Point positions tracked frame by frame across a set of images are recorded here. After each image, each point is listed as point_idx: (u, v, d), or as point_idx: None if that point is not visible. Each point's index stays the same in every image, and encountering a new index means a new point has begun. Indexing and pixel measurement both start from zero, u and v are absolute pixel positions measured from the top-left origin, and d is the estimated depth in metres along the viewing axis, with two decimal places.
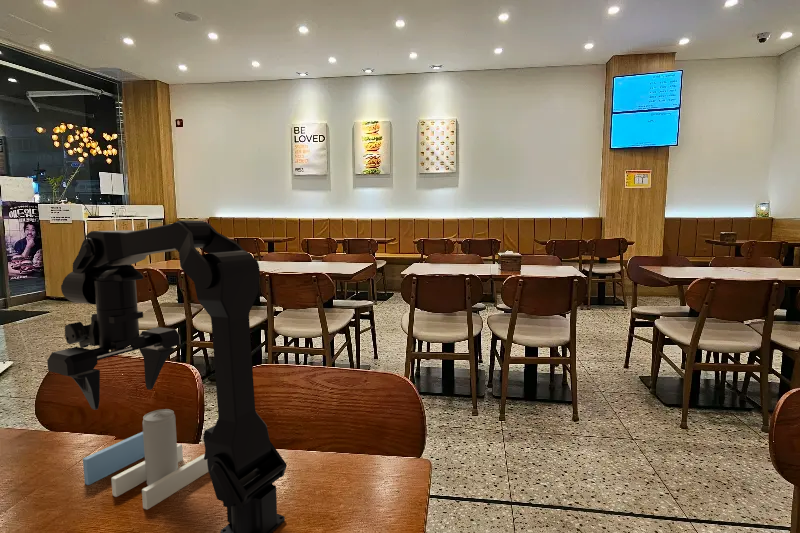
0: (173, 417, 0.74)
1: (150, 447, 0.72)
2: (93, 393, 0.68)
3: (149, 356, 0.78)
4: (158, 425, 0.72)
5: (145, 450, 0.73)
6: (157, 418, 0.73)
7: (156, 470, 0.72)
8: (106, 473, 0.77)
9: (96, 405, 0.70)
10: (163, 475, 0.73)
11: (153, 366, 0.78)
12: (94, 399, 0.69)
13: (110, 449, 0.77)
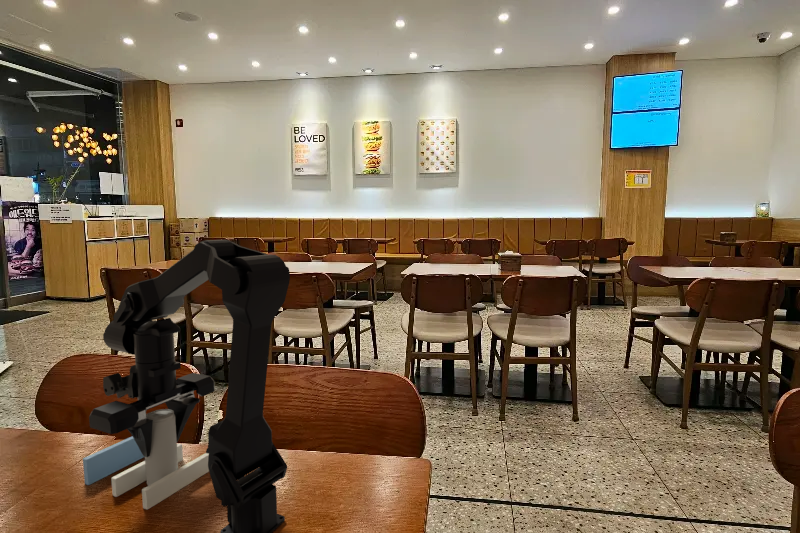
0: (173, 417, 0.74)
1: None
2: (146, 442, 0.70)
3: (174, 408, 0.77)
4: (158, 425, 0.72)
5: None
6: (157, 418, 0.73)
7: (156, 470, 0.72)
8: (106, 473, 0.77)
9: (148, 453, 0.71)
10: (163, 475, 0.73)
11: (179, 419, 0.76)
12: (147, 447, 0.71)
13: (110, 449, 0.77)
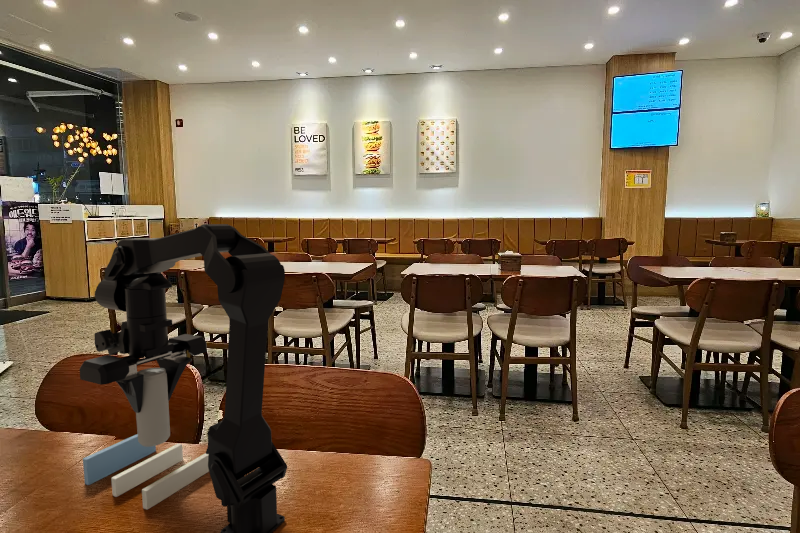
0: (165, 375, 0.74)
1: None
2: (137, 397, 0.70)
3: (166, 367, 0.77)
4: (149, 381, 0.72)
5: None
6: (148, 375, 0.73)
7: (147, 427, 0.72)
8: (106, 473, 0.77)
9: (139, 408, 0.71)
10: (154, 432, 0.73)
11: (170, 377, 0.76)
12: (138, 402, 0.71)
13: (110, 449, 0.77)
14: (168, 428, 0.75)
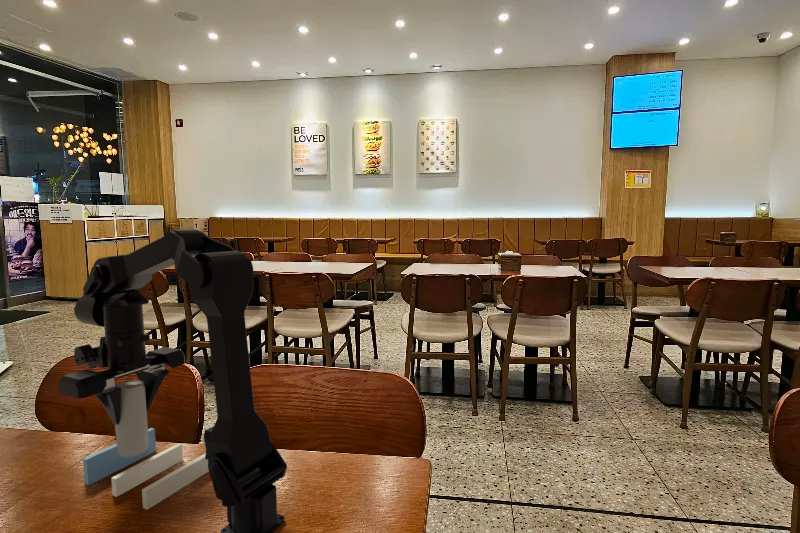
0: (142, 387, 0.77)
1: (120, 415, 0.75)
2: (115, 409, 0.73)
3: (144, 379, 0.79)
4: (127, 394, 0.75)
5: None
6: (126, 388, 0.75)
7: (125, 438, 0.75)
8: (106, 473, 0.77)
9: (117, 420, 0.74)
10: (132, 443, 0.76)
11: (149, 390, 0.79)
12: (116, 414, 0.74)
13: (110, 449, 0.77)
14: (146, 439, 0.78)
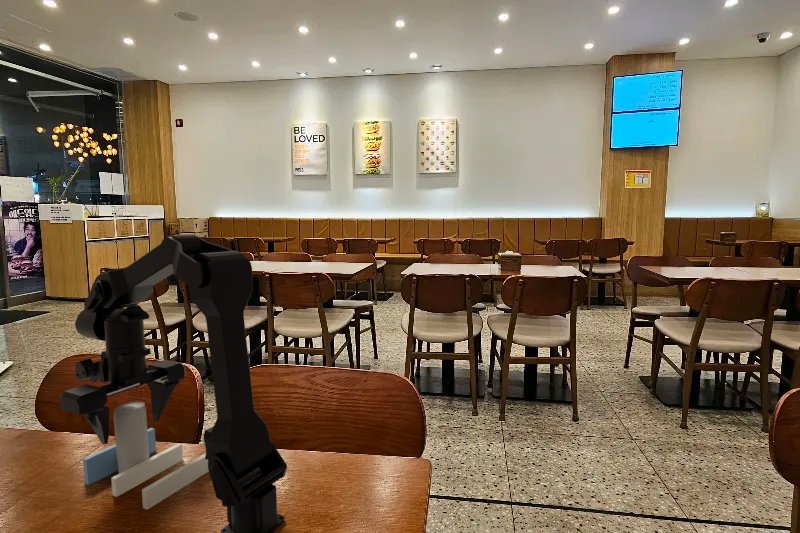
0: (143, 409, 0.77)
1: (121, 437, 0.75)
2: (103, 429, 0.71)
3: (155, 389, 0.81)
4: (128, 416, 0.75)
5: (116, 441, 0.76)
6: (127, 410, 0.76)
7: (126, 460, 0.75)
8: (106, 473, 0.77)
9: (105, 440, 0.73)
10: (133, 465, 0.76)
11: (159, 399, 0.81)
12: (104, 434, 0.72)
13: (110, 449, 0.77)
14: None
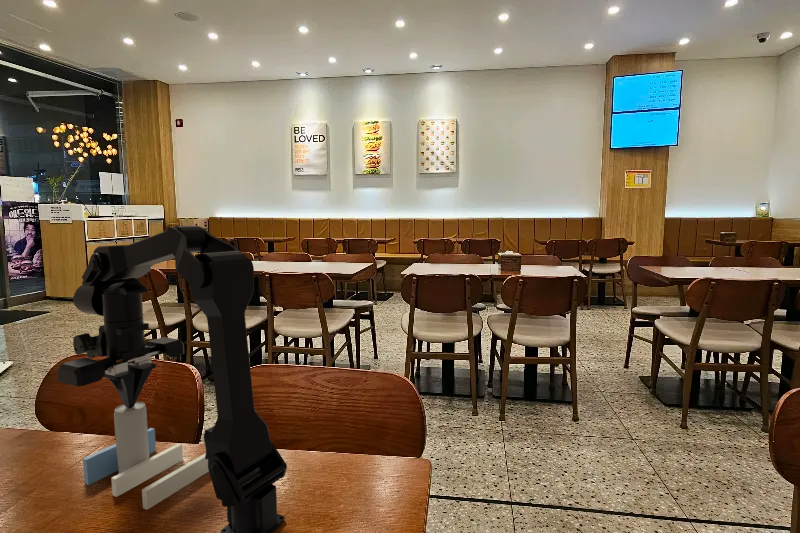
0: (144, 409, 0.77)
1: (121, 437, 0.75)
2: (128, 393, 0.75)
3: None
4: (128, 416, 0.75)
5: (116, 441, 0.76)
6: (128, 410, 0.76)
7: (126, 460, 0.75)
8: (106, 473, 0.77)
9: (130, 404, 0.76)
10: (134, 465, 0.76)
11: (134, 384, 0.76)
12: (129, 398, 0.76)
13: (110, 449, 0.77)
14: None
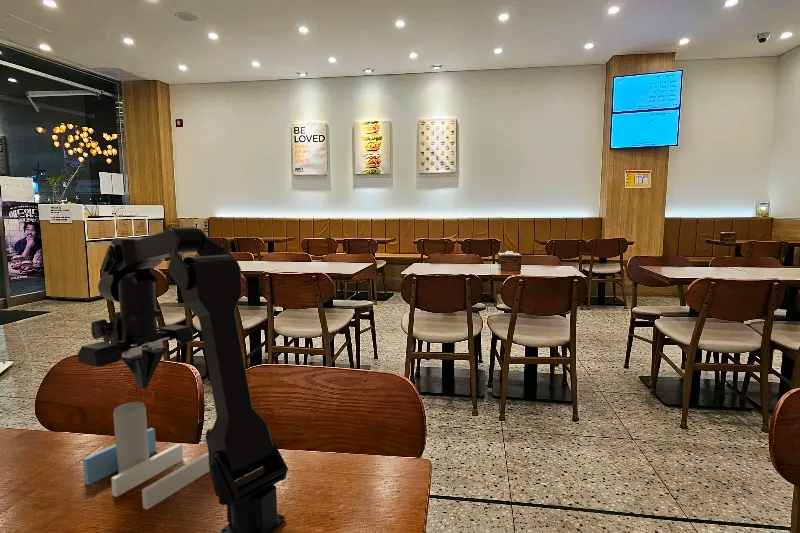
0: (143, 409, 0.77)
1: (121, 437, 0.75)
2: (142, 375, 0.81)
3: None
4: (128, 417, 0.75)
5: (116, 441, 0.76)
6: (127, 410, 0.76)
7: (126, 460, 0.75)
8: (106, 473, 0.77)
9: (143, 385, 0.82)
10: (133, 465, 0.76)
11: (148, 366, 0.82)
12: (142, 379, 0.81)
13: (110, 449, 0.77)
14: None
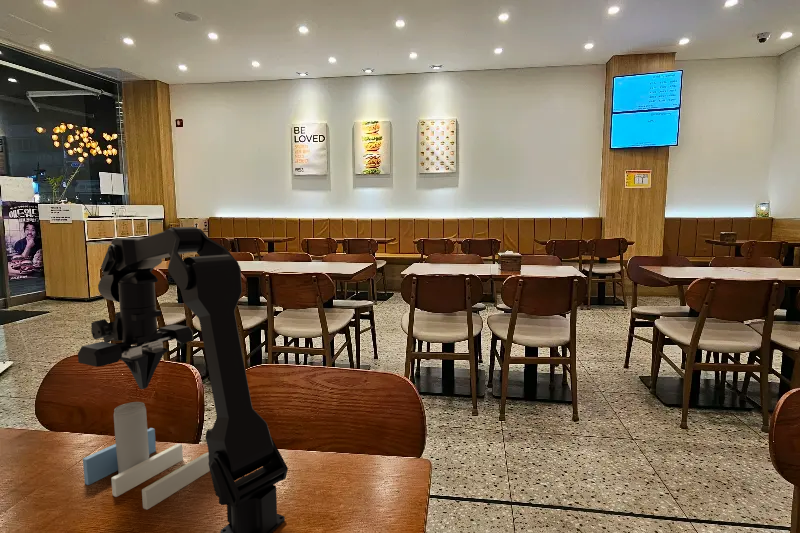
0: (143, 409, 0.77)
1: (121, 437, 0.75)
2: (142, 375, 0.81)
3: None
4: (128, 416, 0.75)
5: (116, 441, 0.76)
6: (127, 410, 0.76)
7: (126, 460, 0.75)
8: (106, 473, 0.77)
9: (143, 385, 0.82)
10: (134, 465, 0.76)
11: (148, 366, 0.82)
12: (143, 379, 0.81)
13: (110, 449, 0.77)
14: None
